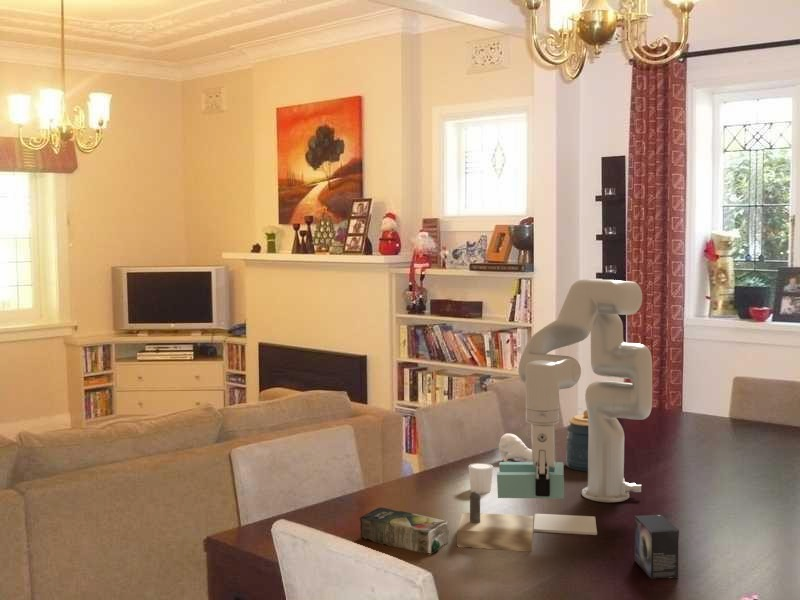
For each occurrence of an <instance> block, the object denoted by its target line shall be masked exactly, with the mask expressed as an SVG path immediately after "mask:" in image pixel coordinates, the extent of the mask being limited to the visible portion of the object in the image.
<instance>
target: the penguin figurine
mask: <svg viewBox="0 0 800 600" xmlns="http://www.w3.org/2000/svg"><path fill="white" fill-rule="evenodd" d="M500 437H501V438H500V439H499V443H498V449H499V453H500V456H501V459H502V460H503V462H509V460H515V459H523V460H525V461H523V462H533V458H532V448H528V446H526V444H525V443H524V442H523V441H522V439H521V438H520V437H518V436H517V435H516V434H514V433H505V434H503V435H502V436H500Z"/></svg>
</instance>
